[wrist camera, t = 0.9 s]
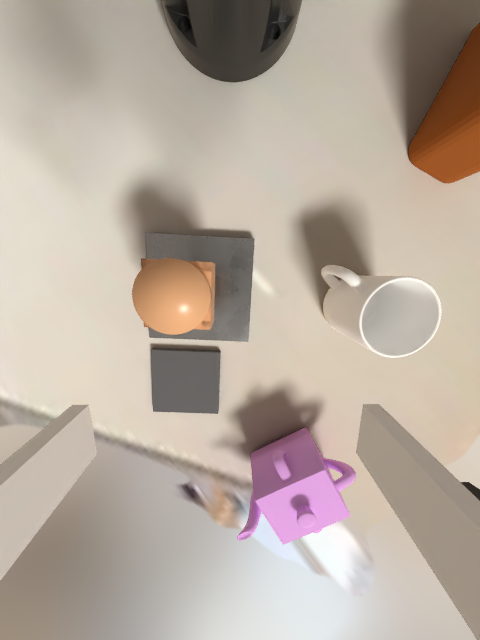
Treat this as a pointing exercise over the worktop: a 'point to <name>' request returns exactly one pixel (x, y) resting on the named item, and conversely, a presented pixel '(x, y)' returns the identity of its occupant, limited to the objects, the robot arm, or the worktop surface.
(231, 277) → the post fixture
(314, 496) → the teapot
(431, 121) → the orange rounded block
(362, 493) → the worktop surface
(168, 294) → the cap
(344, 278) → the cup
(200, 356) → the pad
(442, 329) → the worktop surface
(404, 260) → the worktop surface
